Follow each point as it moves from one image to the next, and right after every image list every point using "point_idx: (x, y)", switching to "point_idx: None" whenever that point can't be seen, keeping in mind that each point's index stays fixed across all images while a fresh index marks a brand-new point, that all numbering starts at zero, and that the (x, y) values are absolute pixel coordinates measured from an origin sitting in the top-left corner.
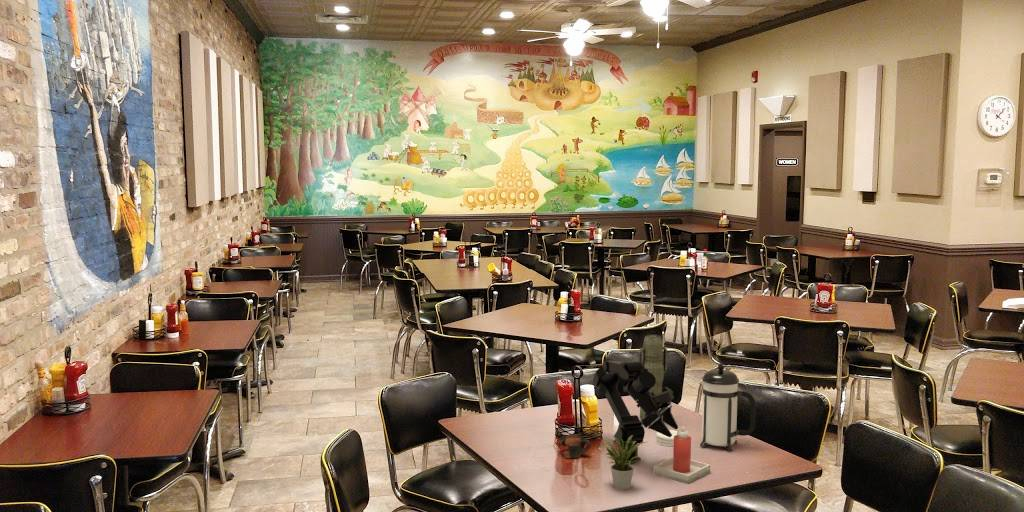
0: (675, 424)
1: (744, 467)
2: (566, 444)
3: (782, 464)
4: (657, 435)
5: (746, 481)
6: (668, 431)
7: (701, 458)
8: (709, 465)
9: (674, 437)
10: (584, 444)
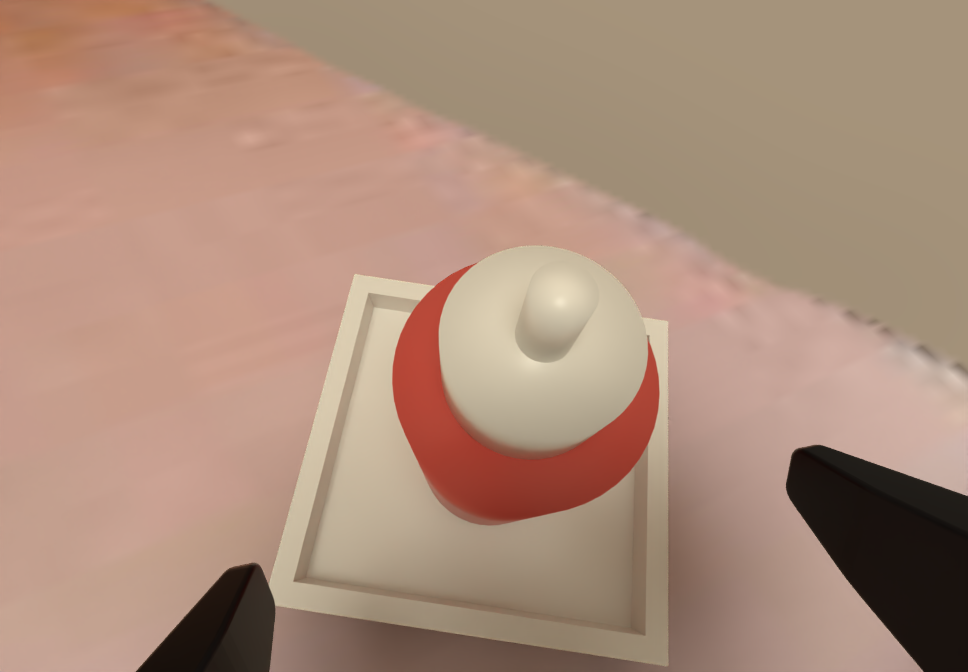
0: (228, 647)
1: (171, 166)
2: None
3: (33, 33)
4: None
5: (402, 106)
6: (945, 496)
7: (85, 454)
8: (368, 277)
9: (610, 478)
10: None
